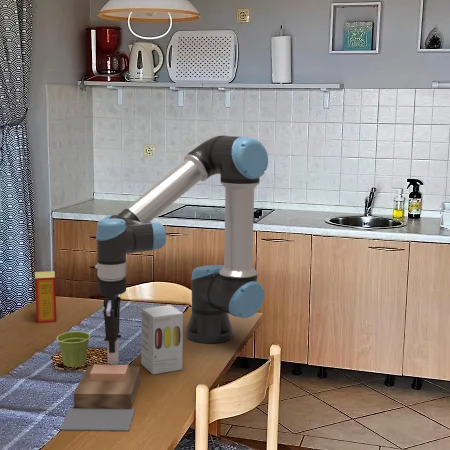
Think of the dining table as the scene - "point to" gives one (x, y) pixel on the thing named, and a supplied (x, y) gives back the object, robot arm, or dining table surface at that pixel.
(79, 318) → the dining table surface
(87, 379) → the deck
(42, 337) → the dining table surface
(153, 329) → the supplement box
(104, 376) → the tile
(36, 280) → the baking soda box
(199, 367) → the dining table surface
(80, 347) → the plant pot
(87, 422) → the mat
